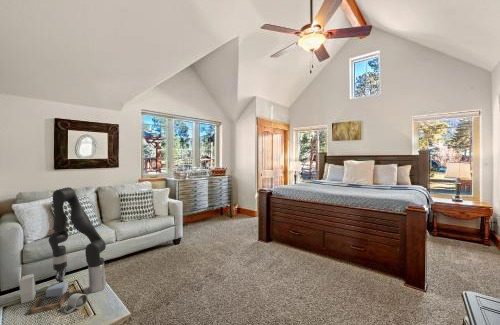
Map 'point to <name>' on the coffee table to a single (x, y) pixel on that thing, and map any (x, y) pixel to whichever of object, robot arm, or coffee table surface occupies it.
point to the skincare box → (27, 288)
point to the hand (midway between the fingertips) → (61, 285)
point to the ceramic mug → (76, 302)
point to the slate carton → (57, 289)
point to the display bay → (48, 307)
